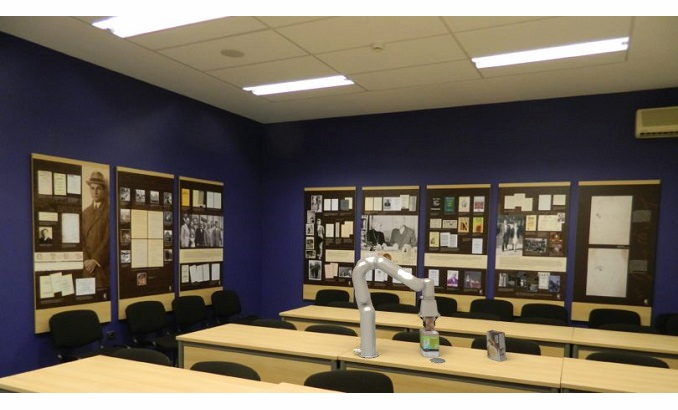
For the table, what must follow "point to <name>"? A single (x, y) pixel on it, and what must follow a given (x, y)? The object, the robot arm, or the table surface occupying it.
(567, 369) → the table surface
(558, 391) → the table surface
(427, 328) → the block
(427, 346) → the tea box
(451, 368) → the table surface
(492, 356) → the coffee box
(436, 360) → the coaster
